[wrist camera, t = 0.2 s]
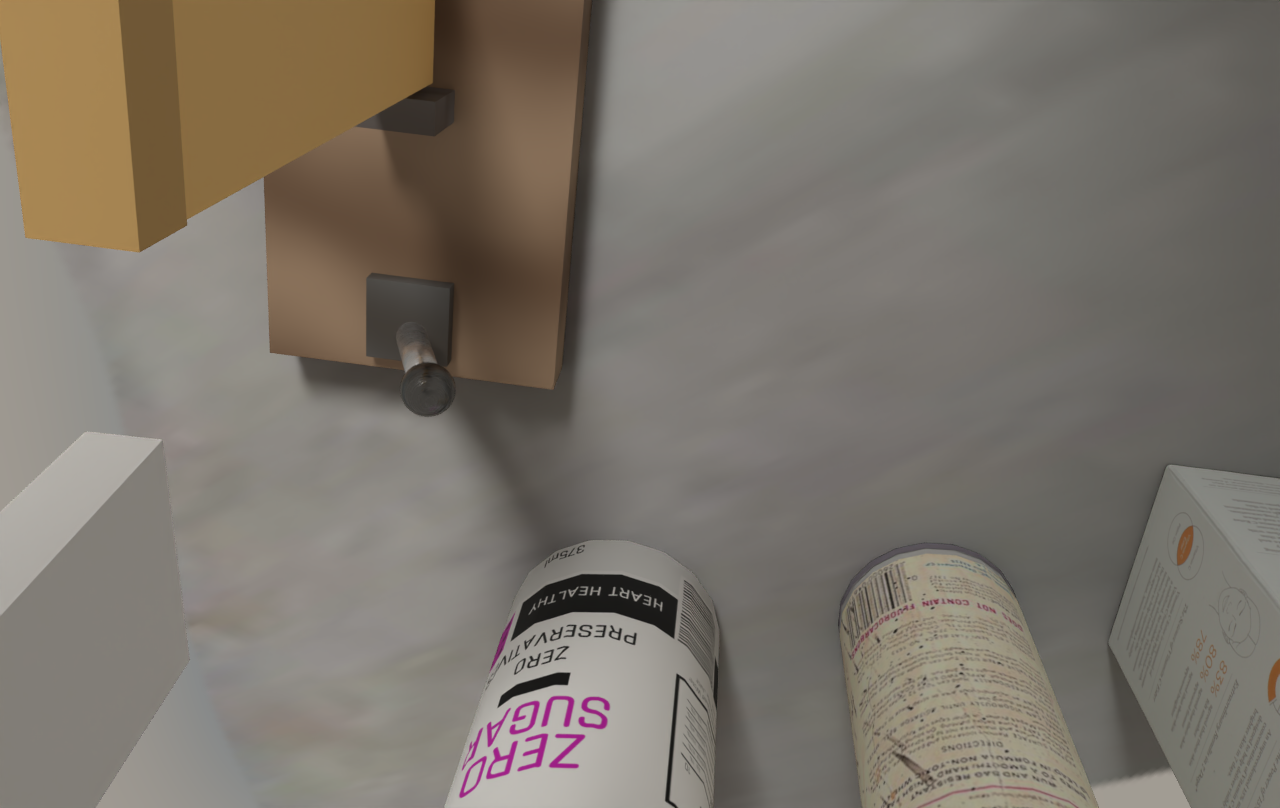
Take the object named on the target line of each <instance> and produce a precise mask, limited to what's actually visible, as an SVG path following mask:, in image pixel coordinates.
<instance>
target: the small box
mask: <svg viewBox="0 0 1280 808" xmlns="http://www.w3.org/2000/svg"><path fill="white" fill-rule="evenodd" d="M1108 644H1109V646H1110V648H1111V650H1112V652H1113V653H1114V655H1115V657H1116V659H1117V661H1118V663H1119V665H1120V667H1121V669H1122V671H1123V673H1124V675H1125V677H1126V679H1127V681H1128V683H1129V685H1130V687H1131V689H1132V691H1133V693H1134V695H1135V697H1136V699H1137V701H1138V703H1139V705H1140V707H1141V709H1142V711H1143V713H1144V714H1145V716H1146V718H1147V720H1148V722H1149V724H1150V726H1151V728H1152V730H1153V732H1154V734H1155V736H1156V738H1157V740H1158V742H1159V744H1160V746H1161V748H1162V750H1163V752H1164V754H1165V756H1166V758H1167V761H1168V763H1169V765H1170V767H1171V769H1172V771H1173V773H1174V775H1175V777H1176V778H1177V781H1178V782H1179V784H1180V786H1181V788H1182V790H1183V792H1184V794H1185V796H1186V798H1187V800H1188V802H1189V804H1190V806H1191V808H1280V478H1271V477H1263V476H1256V475H1248V474H1241V473H1234V472H1227V471H1218V470H1211V469H1202V468H1193V467H1185V466H1178V465H1168V466H1167V467H1166V469H1165V472H1164V475H1163V478H1162V481H1161V484H1160V487H1159V490H1158V493H1157V496H1156V499H1155V502H1154V505H1153V508H1152V511H1151V514H1150V516H1149V520H1148V523H1147V526H1146V529H1145V532H1144V535H1143V538H1142V541H1141V544H1140V547H1139V550H1138V553H1137V555H1136V558H1135V561H1134V564H1133V567H1132V570H1131V573H1130V577H1129V580H1128V583H1127V586H1126V589H1125V592H1124V595H1123V598H1122V601H1121V604H1120V607H1119V610H1118V613H1117V616H1116V619H1115V622H1114V626H1113V629H1112V632H1111V635H1110V638H1109V641H1108Z"/></svg>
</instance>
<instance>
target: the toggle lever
mask: <svg viewBox="0 0 1280 808" xmlns="http://www.w3.org/2000/svg"><path fill="white" fill-rule="evenodd" d="M396 341H397V345H398V348H399V352H400V356H401V359H402V363H403V366H404V370H405V375H404V376H403V378H402V381H401V385H400V394H401V398H402V400H403V402H404V404H405V406H406V407H407V408H408V409H409V410H410V411H412V412H413V413H415V414H417V415H420V416H425V417H431V416H436V415H439V414H441V413H443V412H444V411H445V410H447V409H448V408H449V406H450V405H451V404H452V402H453V400H454V397H455V391H456V389H455V382H454V379H453V377H452V375H451V374H450V373H449V371H448V370H447V369H445V368H444V367H443V366H441V365H439V364H437V362H436V359H435V356H434V353H433V350H432V347H431V344H430V341H429V338H428V335H427V333H426V330H425V329H424V328H423V326H421V325H420V324H418V323H415V322H408V323H405V324H403V325H402V326H401V327H400V328H399V329H398V331H397V334H396Z"/></svg>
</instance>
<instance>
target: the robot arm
mask: <svg viewBox="0 0 1280 808" xmlns="http://www.w3.org/2000/svg"><path fill="white" fill-rule="evenodd" d="M189 660H190V657H189V649H188V641H187V633H186V624H185V616H184V608H183V600H182V592H181V584H180V575H179V567H178V559H177V551H176V543H175V534H174V526H173V518H172V510H171V502H170V494H169V485H168V477H167V469H166V461H165V453H164V444H163V440H162V439H152V438H143V437H133V436H124V435H114V434H105V433H94V432H85V433H84V434H82V435H81V436H80V437H79V438H78V439H77V440H76V441H75V442H74V443H73V444H72V445H71V446H70V447H69V448H68V449H66V451H64V452H63V453H62V454H61V455H60V456H59V457H58V458H57V459H56V460H55V461H54V462H53V463H52V464H50V465H49V466H48V467H47V468H46V469H45V470H44V471H43V472H42V473H41V474H40V475H39V476H38V477H37V478H36V479H34V480H33V481H32V482H31V483H30V484H29V485H28V486H27V487H26V488H25V489H24V490H23V491H22V492H21V493H20V494H18V496H16V497H15V498H14V499H13V500H12V501H11V502H10V503H9V504H8V505H7V506H6V507H5V508H4V509H3V510H1V511H0V808H96V806H97V804H98V803H99V801H100V800H101V798H102V797H103V795H104V794H105V792H106V790H107V789H108V787H109V786H110V784H111V783H112V781H113V779H114V778H115V776H116V775H117V773H118V772H119V770H120V769H121V767H122V765H123V764H124V762H125V761H126V759H127V758H128V756H129V755H130V753H131V751H132V750H133V748H134V747H135V745H136V744H137V742H138V740H139V739H140V737H141V736H142V734H143V733H144V731H145V730H146V728H147V726H148V725H149V723H150V722H151V720H152V719H153V717H154V715H155V714H156V712H157V711H158V709H159V707H160V706H161V704H162V703H163V701H164V700H165V698H166V697H167V695H168V694H169V692H170V691H171V689H172V687H173V686H174V684H175V683H176V681H177V680H178V678H179V676H180V675H181V673H182V672H183V670H184V669H185V667H186V666H187V664H188V662H189Z"/></svg>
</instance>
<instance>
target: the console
mask: <svg viewBox="0 0 1280 808" xmlns="http://www.w3.org/2000/svg"><path fill="white" fill-rule="evenodd" d="M591 6H592V0H435V19H434V57H433V83H432V84H430V85H428V86H426V87H424V88H423V89H421V90H419V91H417V92H415V93H414V94H412V95H410V96H408V97H406V98H405V99H403V100H401V101H399V102H397V103H396V104H394V105H392V106H390V107H388V108H387V109H385V110H383V111H381V112H379V113H378V114H376V115H374V116H372V117H370V118H369V119H367V120H365V121H363V122H361V123H360V124H358V125H356V126H354V127H352V128H351V129H349V130H347V131H345V132H343V133H342V134H340V135H338V136H336V137H334V138H333V139H331V140H329V141H327V142H325V143H324V144H322V145H320V146H318V147H317V148H315V149H313V150H311V151H309V152H308V153H306V154H304V155H302V156H300V157H299V158H297V159H295V160H293V161H291V162H290V163H288V164H286V165H284V166H282V167H281V168H279V169H277V170H275V171H273V172H272V173H270V174H268V175H266V176H264V196H265V224H266V253H267V281H268V309H269V338H270V353H277V354H284V355H292V356H300V357H307V358H315V359H323V360H330V361H338V362H345V363H353V364H361V365H368V366H376V367H384V368H391V369H399V370H404V366H403V363H402V359H401V356H400V352H399V348H398V345H397V341H396V334H397V331H398V329H399V328H400V327H401V326H402V325H403V324H405V323H408V322H415V323H418V324H420V325H421V326H423V328H424V329H425V330H426V333H427V335H428V338H429V341H430V344H431V347H432V350H433V353H434V356H435V359H436V362H437V364H439V365H441V366H443V367H444V368H445V369H447V370H448V371H449V373H450V374H451V375H452V377H460V378H467V379H475V380H483V381H490V382H498V383H506V384H513V385H521V386H528V387H536V388H544V389H551V390H553V389H554V387H555V384H556V382H557V379H558V377H559V374H560V372H561V369H562V361H563V349H564V337H565V324H566V312H567V300H568V288H569V276H570V263H571V251H572V239H573V227H574V214H575V202H576V190H577V178H578V165H579V153H580V141H581V129H582V116H583V104H584V92H585V80H586V67H587V55H588V43H589V31H590V18H591Z"/></svg>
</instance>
